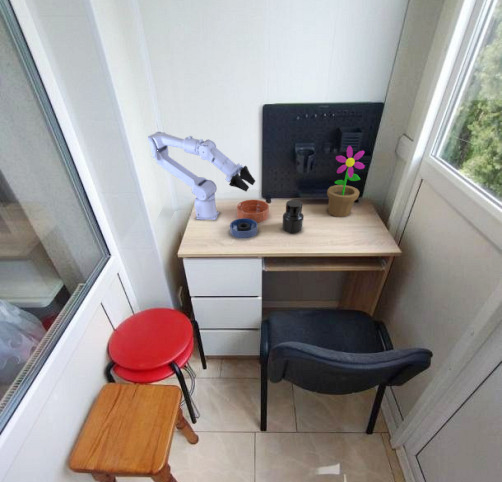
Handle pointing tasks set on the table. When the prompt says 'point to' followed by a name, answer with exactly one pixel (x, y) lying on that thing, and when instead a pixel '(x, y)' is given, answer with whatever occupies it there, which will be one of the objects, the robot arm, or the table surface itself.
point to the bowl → (253, 210)
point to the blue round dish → (243, 234)
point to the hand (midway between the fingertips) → (250, 186)
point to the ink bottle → (293, 217)
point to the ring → (243, 227)
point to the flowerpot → (344, 186)
